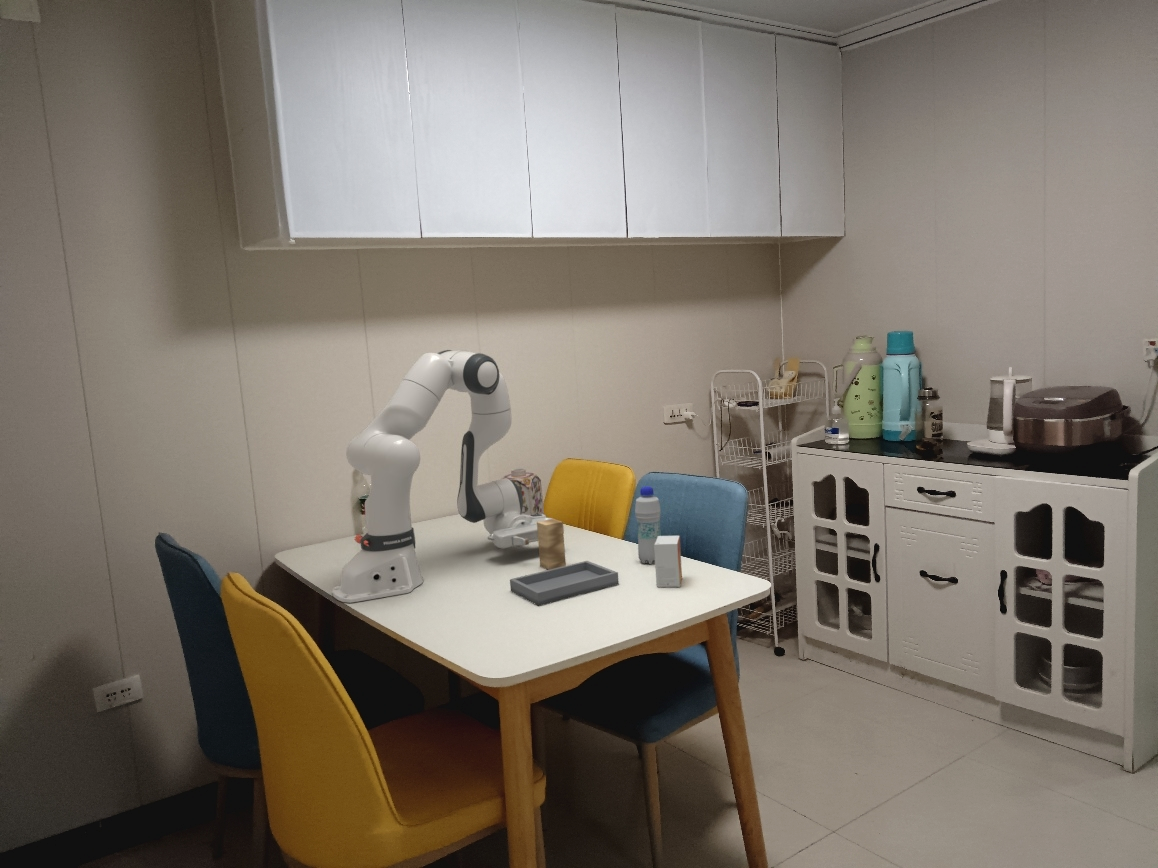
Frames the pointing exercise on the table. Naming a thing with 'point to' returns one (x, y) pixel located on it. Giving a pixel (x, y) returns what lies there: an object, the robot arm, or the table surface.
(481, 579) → the table surface
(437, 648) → the table surface
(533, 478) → the decorative jar
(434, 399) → the robot arm
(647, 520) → the bottle
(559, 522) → the oak block
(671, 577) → the small box
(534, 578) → the tray
